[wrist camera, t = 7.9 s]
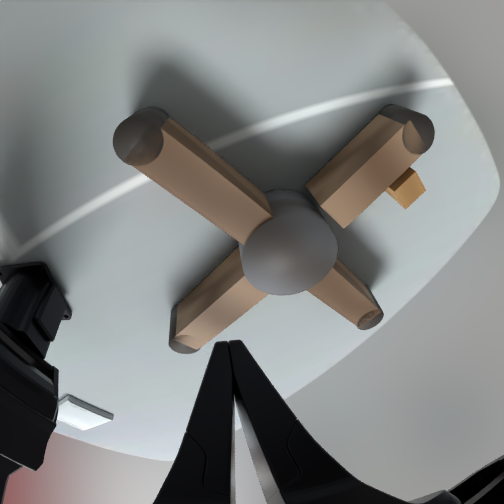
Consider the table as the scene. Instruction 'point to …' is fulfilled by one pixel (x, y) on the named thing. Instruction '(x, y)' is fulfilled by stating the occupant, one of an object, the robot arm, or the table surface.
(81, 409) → the hard drive
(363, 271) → the table surface
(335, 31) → the table surface
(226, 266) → the stool base
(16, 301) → the robot arm
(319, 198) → the folding leg
